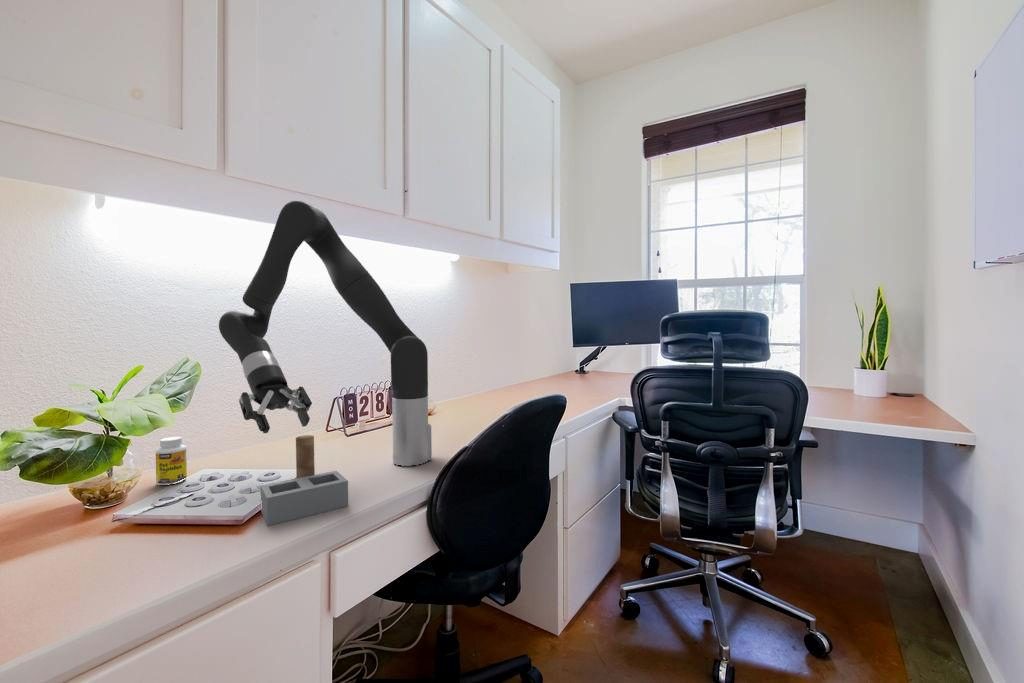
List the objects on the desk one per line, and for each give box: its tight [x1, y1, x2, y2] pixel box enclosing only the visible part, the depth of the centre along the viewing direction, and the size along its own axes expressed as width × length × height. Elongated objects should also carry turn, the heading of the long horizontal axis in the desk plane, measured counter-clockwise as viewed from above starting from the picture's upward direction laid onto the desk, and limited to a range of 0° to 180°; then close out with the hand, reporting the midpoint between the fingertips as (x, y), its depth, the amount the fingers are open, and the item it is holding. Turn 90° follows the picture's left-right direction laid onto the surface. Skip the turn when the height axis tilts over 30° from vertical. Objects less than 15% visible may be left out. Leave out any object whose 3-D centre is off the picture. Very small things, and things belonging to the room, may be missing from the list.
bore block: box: [260, 470, 349, 527], centre depth 83 cm, size 14×8×5 cm, turn 128°
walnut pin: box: [295, 434, 316, 478], centre depth 91 cm, size 4×4×12 cm
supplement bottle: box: [155, 436, 188, 486], centre depth 98 cm, size 6×6×10 cm
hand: (287, 427), depth 96 cm, fingers open, 8 cm apart
